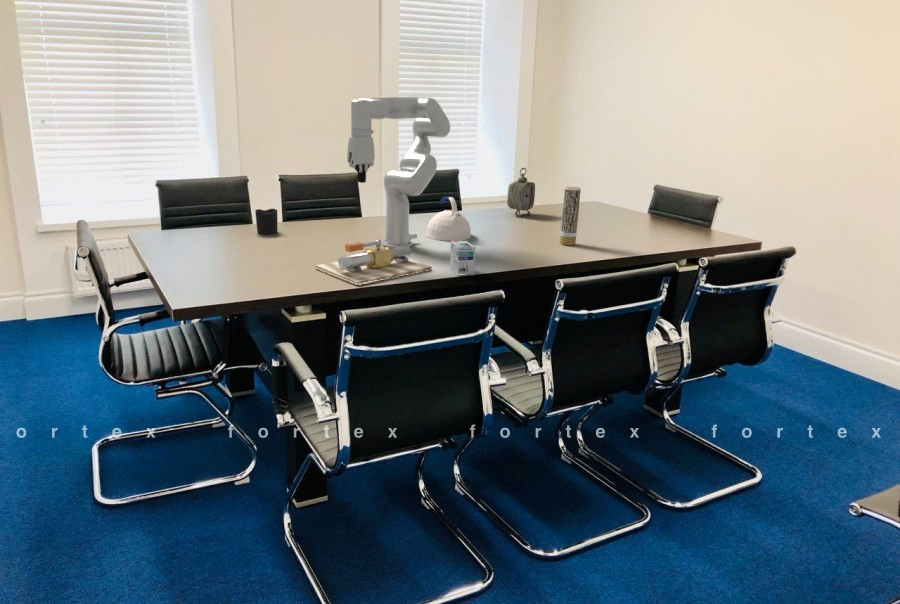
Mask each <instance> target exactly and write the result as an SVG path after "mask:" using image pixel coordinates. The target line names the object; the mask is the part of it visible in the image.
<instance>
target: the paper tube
mask: <svg viewBox="0 0 900 604" xmlns="http://www.w3.org/2000/svg"><path fill="white" fill-rule="evenodd" d="M581 191H582V189H581V187H578V186H565V187H564V192H563V193H564V195H563V203H562V204H563V206H562V215H561V217H562V218H561V226H560V228H561V229H560V240H559V244H561V245H562V246H567V245H569V247H570V246H575V245H576V244H577V243H576V242H577V230H578V221H579V212H580V211H579V209H580V201H581Z"/></svg>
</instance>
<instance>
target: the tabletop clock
mask: <svg viewBox="0 0 900 604" xmlns="http://www.w3.org/2000/svg"><path fill="white" fill-rule="evenodd" d="M522 170H525V172H523V173H521V172H522ZM526 174H527V168H526V167H522V168H520V171H519V177H518V178H517V180H516V181H514V182H513V181H512V182H511V183H509V185H508V189H507V202H506V203H507V207H508V208H509V209H512V210H516V211H514V215H515V216H517V217H518V218H521V217H522V214H521V211H526V212H527V213H526V214H527V215H530V214H531V211H529V210H531V209H532V208H533V207H534V205H535V204H534V203H535V197H536V183H535V182H533V181H532V182H531V181H528V178H527V177H526Z"/></svg>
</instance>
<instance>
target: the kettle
mask: <svg viewBox="0 0 900 604" xmlns="http://www.w3.org/2000/svg"><path fill="white" fill-rule="evenodd" d="M455 199H456V198H454V197H453V196H450V195H449V196H444V197H442V198H441V199H440V201H439V202H438V203H439V204H444V203H445V201H447V200H449V201H450V205H451V210H450V209H444V210H443V211H440V212H437V213H436V214H435V215H434V216H433V217H432V218H430V220H429V223H428V224H427V231H426V237H428V238H429V239H432V240H435V241H436V240H437V241H444V242H451V241H468V240H469V239H471V237H472V233H471V226H470V223H469V221H468V219H467V218H466V217H465V216H464V215H463V214H462V213H461V212H459V211H458V208H457V207H458V206H457V202H456V200H455Z"/></svg>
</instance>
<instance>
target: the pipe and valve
mask: <svg viewBox="0 0 900 604" xmlns="http://www.w3.org/2000/svg"><path fill="white" fill-rule="evenodd" d="M411 255H412V250H411V247H409V246H403V247H397V248H390V247H386V246H383V245H381V246H374V247H373V246H372V247H369V248H368V247H366V248H365V250H364V251H363V253H357V254H354V255H353V254H352V255H347V256H341V257H339V259H338V264H339V267H340V269H342V270H345V269H346V270H347V271H350V272H353V273H358V272H361V267H360V266H366V267H370V266H371V267H374V268H378V267H383V266H388V265H391V262H392V261H393V260H394V261H396V262H399V263H402V264H403V263H408V259H409V257H411Z"/></svg>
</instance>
